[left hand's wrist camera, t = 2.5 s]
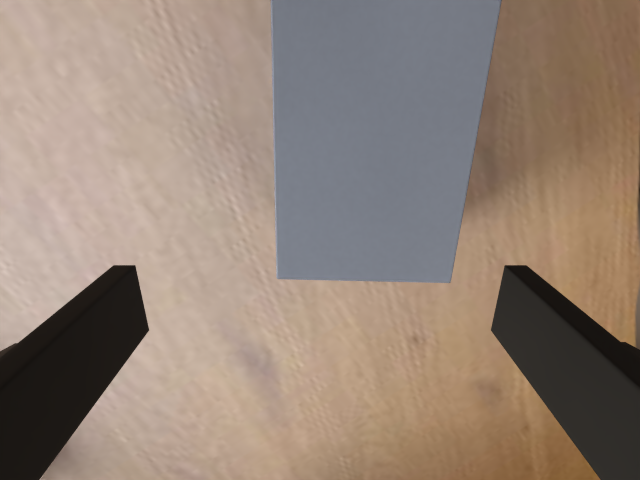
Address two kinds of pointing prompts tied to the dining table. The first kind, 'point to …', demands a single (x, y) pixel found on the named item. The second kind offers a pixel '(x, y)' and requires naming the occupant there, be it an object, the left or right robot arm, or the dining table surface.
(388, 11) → the cabinet
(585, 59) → the dining table surface
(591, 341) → the left robot arm
